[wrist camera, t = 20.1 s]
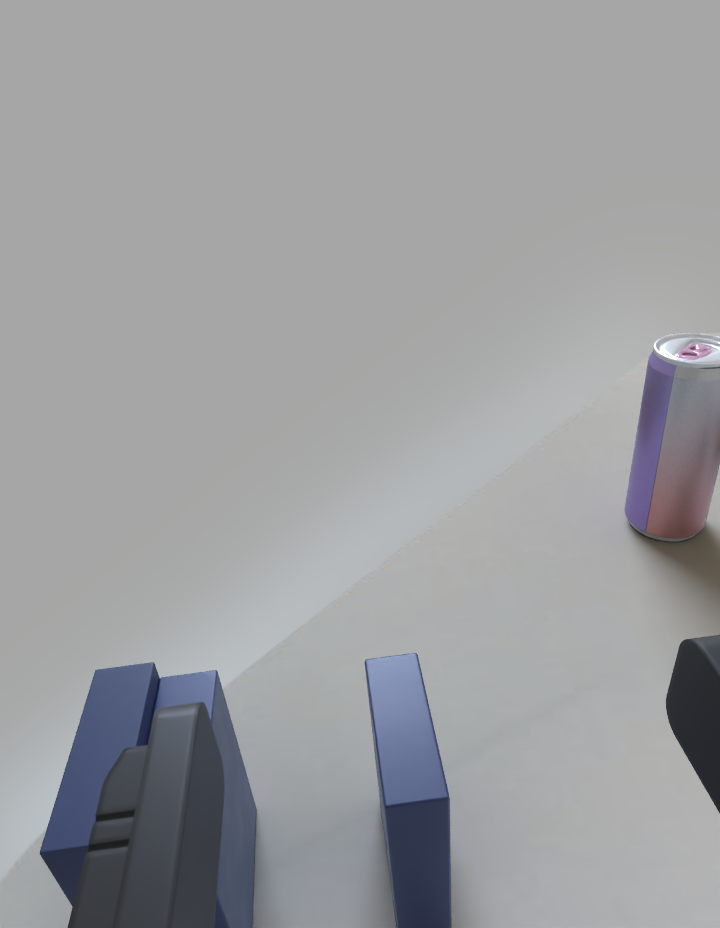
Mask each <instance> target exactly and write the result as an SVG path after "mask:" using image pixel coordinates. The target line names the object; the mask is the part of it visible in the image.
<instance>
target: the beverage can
mask: <svg viewBox="0 0 720 928" xmlns="http://www.w3.org/2000/svg"><path fill="white" fill-rule="evenodd" d="M719 465H720V337H719V336H714V335H708V334H700V333H680V334H673V335H668V336H665V337H662V338H660V339H658V340H657V341H656V342H655V344H654V347H653V352H652V353H651V355H650V357H649V360H648V366H647V372H646V378H645V385H644V391H643V397H642V403H641V410H640V416H639V422H638V429H637V435H636V441H635V447H634V454H633V460H632V466H631V472H630V479H629V485H628V491H627V498H626V504H625V514H626V517H627V519H628V520H629V522H630V524H631V525H632V526H633V527H634V528H635V529H636V530H637V531H638V532H640V533H642V534H643V535H645V536H648V537H650V538H653V539H657V540H661V541H683V540H686V539H689V538H691V537H693V536H695V535H696V534H697V533H699V532H700V531H701V530H702V529H703V528H704V526H705V523H706V519H707V515H708V511H709V507H710V502H711V498H712V494H713V490H714V486H715V482H716V478H717V473H718V469H719Z"/></svg>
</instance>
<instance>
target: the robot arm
mask: <svg viewBox="0 0 720 928" xmlns="http://www.w3.org/2000/svg"><path fill="white" fill-rule="evenodd" d="M666 709H667V715H668V719H669V723H670V725H671V728H672V730H673V733H674V735H675V737H676V738H677V740H678V742H679V744H680V745H681V747H682V749H683V751H684V752H685V754H686V756H687V757H688V759H689V761H690V763H691V764H692V766H693V768H694V770H695V771H696V773H697V775H698V776H699V778H700V780H701V782H702V783H703V785H704V787H705V789H706V790H707V792H708V794H709V795H710V797H711V799H712V801H713V802H714V804H715V806H716V808H717V809H718V811H719V813H720V635H716V636H708V637H701V638H693V639H686V640H684V641H682V642H681V644H680V647H679V650H678V654H677V658H676V662H675V666H674V669H673V673H672V677H671V681H670V685H669V689H668V693H667V697H666ZM224 794H225V782H224V768H223V761H222V757H221V753H220V750H219V746H218V743H217V740H216V737H215V733H214V730H213V727H212V723H211V720H210V717H209V714H208V710H207V707H206V705H205V703H204V702H199V703H191V704H184V705H176V706H169V707H161V708H158V709H157V710H156V711H155V713H154V716H153V720H152V725H151V730H150V736H149V741H148V745H143V746H136V747H129V748H124V750H123V751H122V753H121V754H120V756H119V757H118V759H117V761H116V762H115V764H114V765H113V767H112V768H111V770H110V771H109V773H108V775H107V776H106V778H105V779H104V782H103V786H102V790H101V794H100V798H99V802H98V806H97V810H96V814H95V817H96V820H95V823H93V826H92V831H91V835H90V839H89V843H88V852H87V853H86V855H85V859H84V863H83V867H82V871H81V875H80V879H79V884H78V888H77V892H76V896H75V900H74V904H73V908H72V912H71V916H70V920H69V924H68V928H214V925H215V912H216V899H217V886H218V873H219V860H220V847H221V834H222V821H223V808H224Z"/></svg>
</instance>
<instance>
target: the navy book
mask: <svg viewBox="0 0 720 928" xmlns="http://www.w3.org/2000/svg"><path fill="white" fill-rule="evenodd" d="M365 669H366V678H367V687H368V696H369V705H370V714H371V723H372V732H373V741H374V750H375V760H376V769H377V778H378V787H379V796H380V804H381V812H382V820H383V827H384V835H385V843H386V851H387V858H388V866H389V874H390V881H391V889H392V897H393V904H394V912H395V920H396V927H397V928H451V864H450V798H449V793H448V789H447V784H446V780H445V775H444V771H443V766H442V762H441V757H440V753H439V749H438V744H437V740H436V735H435V731H434V726H433V722H432V717H431V713H430V709H429V704H428V700H427V695H426V691H425V686H424V682H423V677H422V673H421V668H420V664H419V660H418V655H417V654H416V653H412V654H404V655H397V656H389V657H381V658H374V659H367V660H365Z"/></svg>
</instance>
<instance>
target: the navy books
mask: <svg viewBox="0 0 720 928" xmlns="http://www.w3.org/2000/svg"><path fill="white" fill-rule="evenodd" d="M199 702H204V703H205V705H206V707H207V710H208V714H209V717H210V720H211V723H212V727H213V730H214V733H215V737H216V740H217V743H218V746H219V750H220V753H221V757H222V761H223V768H224V782H225V794H224V808H223V821H222V834H221V847H220V860H219V873H218V886H217V899H216V912H215V925H214V928H252V924H253V895H254V866H255V837H256V806H255V802H254V799H253V795H252V792H251V788H250V785H249V781H248V777H247V774H246V770H245V767H244V763H243V760H242V756H241V753H240V749H239V746H238V742H237V739H236V735H235V732H234V728H233V725H232V721H231V718H230V714H229V711H228V707H227V704H226V700H225V697H224V693H223V690H222V686H221V683H220V679H219V676H218V672H217V671H216V670H215V671H206V672H199V673H192V674H184V675H177V676H169V677H162V678H159V676H158V672H157V670H156V667H155V664H154V663H145V664H137V665H129V666H122V667H115V668H107V669H99V670H96V671H95V674H94V677H93V680H92V684H91V687H90V690H89V693H88V696H87V700H86V703H85V706H84V710H83V713H82V716H81V719H80V723H79V726H78V729H77V732H76V736H75V739H74V742H73V746H72V749H71V752H70V755H69V759H68V762H67V765H66V768H65V772H64V775H63V778H62V782H61V785H60V788H59V791H58V795H57V798H56V801H55V804H54V808H53V811H52V814H51V817H50V821H49V824H48V827H47V831H46V834H45V837H44V840H43V844H42V847H41V850H40V855H41V857H42V858H43V860H44V861H45V863H46V865H47V866H48V868H49V869H50V871H51V873H52V874H53V876H54V877H55V879H56V881H57V882H58V884H59V885H60V887H61V889H62V890H63V892H64V893H65V895H66V897H67V898H68V900H69V901H70V903H71V905H72V906H73V904H74V900H75V896H76V892H77V888H78V884H79V879H80V875H81V871H82V867H83V863H84V859H85V855H86V853H87V852H88V843H89V839H90V835H91V831H92V826H93V823H95V820H96V817H95V814H96V810H97V806H98V802H99V798H100V794H101V790H102V786H103V782H104V779H105V778H106V776H107V775H108V773H109V771H110V770H111V768H112V767H113V765H114V764H115V762H116V761H117V759H118V757H119V756H120V754H121V753H122V751H123V750H124V748H129V747H136V746H143V745H148V741H149V736H150V730H151V725H152V720H153V716H154V713H155V711H156V710H157V709H158V708H161V707H169V706H176V705H184V704H191V703H199Z"/></svg>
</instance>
